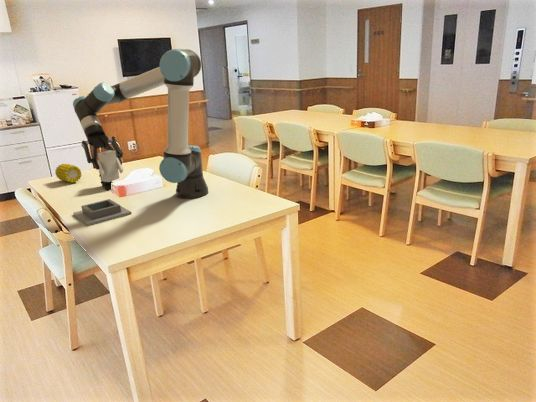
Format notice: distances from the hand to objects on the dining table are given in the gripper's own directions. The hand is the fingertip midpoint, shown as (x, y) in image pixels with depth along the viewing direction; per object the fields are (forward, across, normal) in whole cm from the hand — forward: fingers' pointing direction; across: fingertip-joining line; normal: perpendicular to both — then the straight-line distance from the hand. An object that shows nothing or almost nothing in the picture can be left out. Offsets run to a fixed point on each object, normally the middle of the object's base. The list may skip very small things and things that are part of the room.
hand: (112, 173), depth 170 cm
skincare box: (0, 0, -5) cm, 5 cm away
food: (-37, 0, -64) cm, 74 cm away
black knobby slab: (-18, -10, -44) cm, 49 cm away
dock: (+10, +6, -15) cm, 19 cm away
